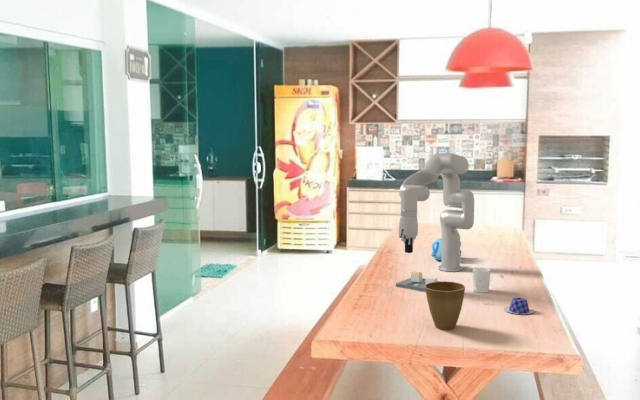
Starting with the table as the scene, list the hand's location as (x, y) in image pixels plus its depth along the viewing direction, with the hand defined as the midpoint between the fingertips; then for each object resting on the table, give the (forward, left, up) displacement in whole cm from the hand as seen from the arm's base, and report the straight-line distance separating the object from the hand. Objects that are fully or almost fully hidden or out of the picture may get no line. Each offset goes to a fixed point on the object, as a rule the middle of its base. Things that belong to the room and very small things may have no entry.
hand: (408, 252), depth 296 cm
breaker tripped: (-7, 0, -15) cm, 17 cm away
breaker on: (-2, +11, -15) cm, 19 cm away
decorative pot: (-65, -16, -17) cm, 69 cm away
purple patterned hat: (+3, +55, -18) cm, 58 cm away
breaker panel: (-7, +6, -17) cm, 19 cm away
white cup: (-16, +29, -17) cm, 37 cm away
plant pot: (+40, +41, -17) cm, 60 cm away
